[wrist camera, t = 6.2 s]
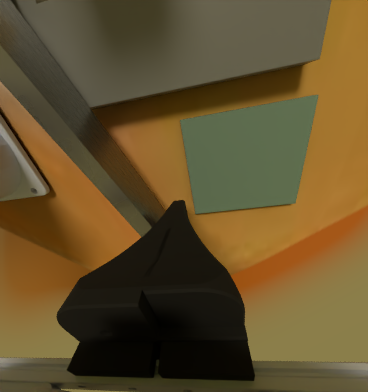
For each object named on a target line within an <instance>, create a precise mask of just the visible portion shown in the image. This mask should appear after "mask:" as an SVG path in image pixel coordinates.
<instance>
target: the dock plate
mask: <svg viewBox="0 0 368 392" xmlns="http://www.w3.org/2000/svg"><path fill="white" fill-rule="evenodd" d="M12 3H13V4H14V6H15V7H16V8H17V10H18V11H19V12H20V14H21V15H22V17H23V18H24V19H25V21H26V22H27V23H28V25H29V26H30V27H31V29H32V30H33V32H34V33H35V34H36V36H37V37H38V38H39V40H40V41H41V42H42V44H43V45H44V47H45V48H46V49H47V51H48V52H49V53H50V55H51V56H52V57H53V59H54V60H55V62H56V63H57V64H58V66H59V67H60V68H61V70H62V71H63V72H64V74H65V75H66V77H67V78H68V79H69V81H70V82H71V83H72V85H73V86H74V87H75V89H76V90H77V92H78V93H79V94H80V96H81V97H82V98H83V100H84V101H85V102H86V104H87V105H88V106H89V108H90V109H95V108H100V107H105V106H109V105H114V104H119V103H124V102H129V101H133V100H138V99H143V98H148V97H152V96H157V95H162V94H167V93H171V92H176V91H181V90H186V89H190V88H195V87H200V86H205V85H209V84H214V83H219V82H224V81H228V80H233V79H238V78H243V77H248V76H252V75H257V74H262V73H267V72H271V71H276V70H281V69H286V68H290V67H295V66H300V65H304V64H307V63H310V62H312V61H315V60H318V59H320V55H321V50H322V45H323V40H324V35H325V29H326V24H327V19H328V14H329V9H330V4H331V0H12Z"/></svg>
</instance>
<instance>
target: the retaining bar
mask: <svg viewBox="0 0 368 392" xmlns="http://www.w3.org/2000/svg"><path fill="white" fill-rule="evenodd" d="M0 81H1V82H2V83H3V84H4V86H5V87H6V88H7V89H8V90H9V91H10V92H11V93H12V94H13V95H14V97H15V98H16V99H17V100H18V101H19V102H20V103H21V104H22V105H23V106H24V108H25V109H26V110H27V111H28V112H29V113H30V114H31V115H32V116H33V118H34V119H35V120H36V121H37V122H38V123H39V124H40V125H41V126H42V127H43V129H44V130H45V131H46V132H47V133H48V134H49V135H50V136H51V137H52V139H53V140H54V141H55V142H56V143H57V144H58V145H59V146H60V147H61V148H62V150H63V151H64V152H65V153H66V154H67V155H68V156H69V157H70V158H71V159H72V161H73V162H74V163H75V164H76V165H77V166H78V167H79V168H80V169H81V171H82V172H83V173H84V174H85V175H86V176H87V177H88V178H89V179H90V180H91V182H92V183H93V184H94V185H95V186H96V187H97V188H98V189H99V190H100V192H101V193H102V194H103V195H104V196H105V197H106V198H107V199H108V200H109V201H110V203H111V204H112V205H113V206H114V207H115V208H116V209H117V210H118V211H119V212H120V214H121V215H122V216H123V217H124V218H125V219H126V220H127V221H128V222H129V224H130V225H131V226H132V227H133V228H134V229H135V230H136V231H137V232H138V233H139V235H140V236H141V237H143V236H144V235H145V234H146V233H147V232H148V231H149V230H150V229H151V228H152V227H153V226H154V225H155V224H156V223H157V221H158V220H159V219H160V218H161V217H162V216H163V214H164V213H165V212H166V211H165V210H164V209H163V207H162V206H161V205H160V203H159V202H158V200H157V199H156V198H155V196H154V195H153V194H152V192H151V191H150V190H149V188H148V187H147V186H146V184H145V183H144V181H143V180H142V179H141V177H140V176H139V175H138V173H137V172H136V171H135V169H134V168H133V166H132V165H131V164H130V162H129V161H128V160H127V158H126V157H125V156H124V154H123V153H122V151H121V150H120V149H119V147H118V146H117V145H116V143H115V142H114V141H113V139H112V138H111V136H110V135H109V134H108V132H107V131H106V130H105V128H104V127H103V126H102V124H101V123H100V121H99V120H98V119H97V117H96V116H95V115H94V113H93V112H92V111H91V109H90V108H89V106H88V105H87V104H86V102H85V101H84V100H83V98H82V97H81V96H80V94H79V93H78V92H77V90H76V89H75V87H74V86H73V85H72V83H71V82H70V81H69V79H68V78H67V77H66V75H65V74H64V72H63V71H62V70H61V68H60V67H59V66H58V64H57V63H56V62H55V60H54V59H53V57H52V56H51V55H50V53H49V52H48V51H47V49H46V48H45V47H44V45H43V44H42V42H41V41H40V40H39V38H38V37H37V36H36V34H35V33H34V32H33V30H32V29H31V27H30V26H29V25H28V23H27V22H26V21H25V19H24V18H23V17H22V15H21V14H20V12H19V11H18V10H17V8H16V7H15V6H14V4H13V3H12V0H0Z"/></svg>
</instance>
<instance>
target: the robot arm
mask: <svg viewBox="0 0 368 392" xmlns="http://www.w3.org/2000/svg"><path fill="white" fill-rule="evenodd" d="M49 192H50V189H49V187H48V185H47V184H46V182H45V181H44V179H43V178H42V176H41V175H40V173H39V172H38V170H37V169H36V167H35V166H34V164H33V163H32V161H31V160H30V158H29V157H28V155H27V154H26V152H25V151H24V149H23V148H22V146H21V145H20V143H19V142H18V140H17V139H16V137H15V136H14V134H13V133H12V131H11V130H10V128H9V127H8V125H7V124H6V122H5V121H4V119H3V118H2V116H1V115H0V201H7V200H14V199H21V198H28V197H35V196H43V195H46V194H48V193H49ZM244 318H245V308H244V303H243V301H242V298H241V295H240V293H239V291H238V289H237V287H236V285H235V283H234V281H233V279H232V278H231V276H230V274H229V272H228V271H227V269H226V268H225V267H224V266H223V265H222V264H221V263H220V262H219V261H218V260H217V259H216V258H215V257H214V256H213V255H212V254H211V253H210V252H209V250H208V249H207V248H206V247H205V245H204V244H203V243H202V242H201V240H200V239H199V237H198V236H197V234H196V233H195V231H194V229H193V227H192V226H191V224H190V221H189V219H188V215H187V210H186V205H185V201H184V200H179V201H173V203H172V204H171V205H170V207H169V208H168V209H167V210H166V212H165V213H164V214H163V216H162V217H161V218H160V219H159V220H158V221H157V223H156V224H155V225H154V226H153V227H152V228H151V229H150V230H149V231H148V232H147V233H146V234H145V235H144V236H143V237H141V238H140V239H139V240H138V241H137V242H136V243H134V244H133V245H132V246H130V247H129V248H128V249H127V250H125V251H124V252H122V253H121V254H120V255H118V256H117V257H115V258H114V259H112V260H111V261H109V262H108V263H106V264H104V265H103V266H101V267H99V268H97V269H96V270H94V271H92V272H91V273H89V274H87V275H85V276H83V277H82V278H80V279H79V280H78V282H77V284H76V285H75V287H74V288H73V289H72V291H71V293H70V294H69V296H68V297H67V299H66V300H65V302H64V303H63V305H62V306H61V308H60V309H59V311H58V312H57V320H58V323H59V324H60V325H61V326H62V328H64V329H65V330H66V331H67V332H69V333H70V334H71V335H72V336H74V337H75V338H76V339H77V340H78V341H80V343H79V345H78V347H77V349H76V351H75V353H74V355H73V357H72V358H3V357H0V392H69V391H63V390H61V389H83V390H106V391H107V390H108V391H129V392H368V362H299V361H298V362H297V361H252V359H251V356H250V351H249V346H248V342H247V341H248V338H247V333H246V329H245V325H244V322H245V319H244Z"/></svg>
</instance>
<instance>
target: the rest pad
mask: <svg viewBox="0 0 368 392" xmlns="http://www.w3.org/2000/svg"><path fill="white" fill-rule="evenodd" d="M317 100H318V95H312V96H307V97H302V98H296V99H291V100H286V101H280V102H275V103H269V104H264V105H259V106H253V107H248V108H242V109H237V110H232V111H226V112H221V113H216V114H210V115H205V116H199V117H194V118H189V119H183V120H180V122H181V128H182V134H183V141H184V147H185V153H186V159H187V165H188V171H189V177H190V183H191V189H192V195H193V201H194V207H195V214H199V213H209V212H218V211H228V210H237V209H246V208H256V207H265V206H275V205H284V204H293V203H296V198H297V193H298V189H299V184H300V179H301V175H302V170H303V165H304V161H305V156H306V151H307V147H308V142H309V137H310V133H311V128H312V123H313V118H314V114H315V109H316V104H317Z"/></svg>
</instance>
